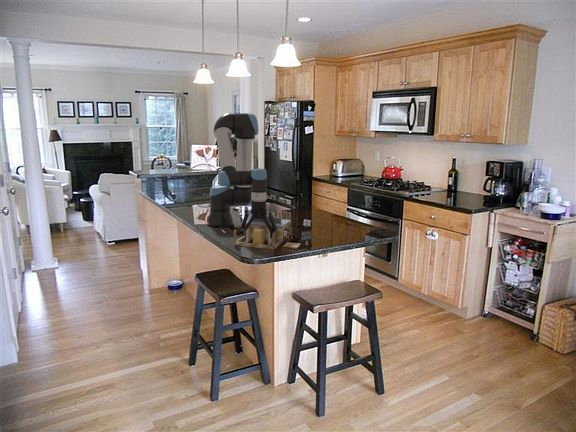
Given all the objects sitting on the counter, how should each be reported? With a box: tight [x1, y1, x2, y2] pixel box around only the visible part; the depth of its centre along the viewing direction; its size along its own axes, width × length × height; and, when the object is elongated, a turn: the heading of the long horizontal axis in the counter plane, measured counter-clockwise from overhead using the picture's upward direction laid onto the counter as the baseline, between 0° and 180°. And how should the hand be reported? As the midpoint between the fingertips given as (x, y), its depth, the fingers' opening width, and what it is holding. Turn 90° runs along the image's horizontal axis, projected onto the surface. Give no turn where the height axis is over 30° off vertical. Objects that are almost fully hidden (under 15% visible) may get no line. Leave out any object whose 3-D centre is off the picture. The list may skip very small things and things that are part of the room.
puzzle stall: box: [233, 221, 292, 250], centre depth 224 cm, size 21×28×8 cm
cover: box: [246, 215, 292, 227], centre depth 228 cm, size 21×14×4 cm, turn 73°
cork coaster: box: [282, 241, 302, 249], centre depth 215 cm, size 7×7×1 cm
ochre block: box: [252, 229, 266, 245], centre depth 217 cm, size 4×4×7 cm
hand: (258, 243), depth 218 cm, fingers open, 11 cm apart
